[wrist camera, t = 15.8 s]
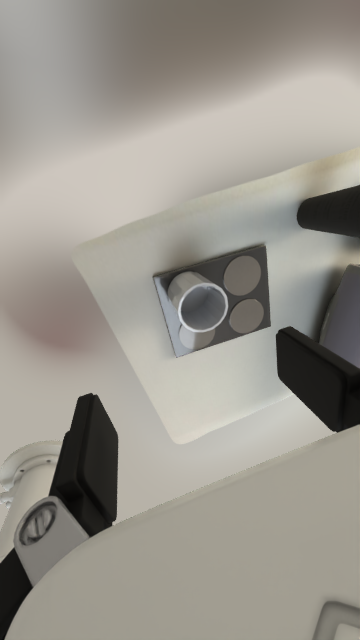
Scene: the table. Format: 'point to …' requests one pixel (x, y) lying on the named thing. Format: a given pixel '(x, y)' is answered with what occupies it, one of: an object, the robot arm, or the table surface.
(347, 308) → the bluetooth speaker
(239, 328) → the hob
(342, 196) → the drinking cup
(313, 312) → the table surface
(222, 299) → the pot
